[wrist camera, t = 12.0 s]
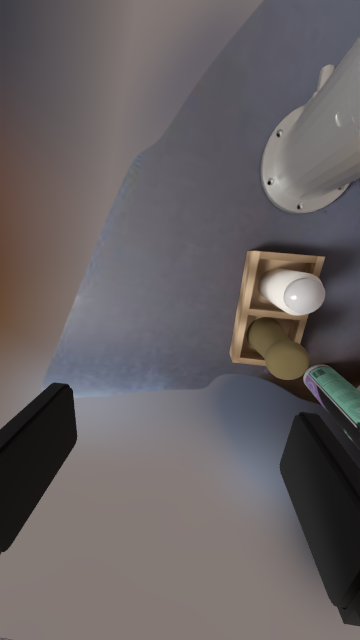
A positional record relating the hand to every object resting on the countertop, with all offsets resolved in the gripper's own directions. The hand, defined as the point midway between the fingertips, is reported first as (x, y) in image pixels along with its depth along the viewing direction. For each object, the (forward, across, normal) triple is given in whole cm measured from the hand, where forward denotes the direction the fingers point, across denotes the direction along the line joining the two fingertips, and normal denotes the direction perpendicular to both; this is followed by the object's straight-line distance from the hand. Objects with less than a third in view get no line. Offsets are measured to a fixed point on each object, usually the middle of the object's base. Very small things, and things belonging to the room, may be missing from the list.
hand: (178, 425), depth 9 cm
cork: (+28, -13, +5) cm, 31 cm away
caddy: (+28, -13, +1) cm, 31 cm away
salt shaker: (+27, -13, -3) cm, 30 cm away
